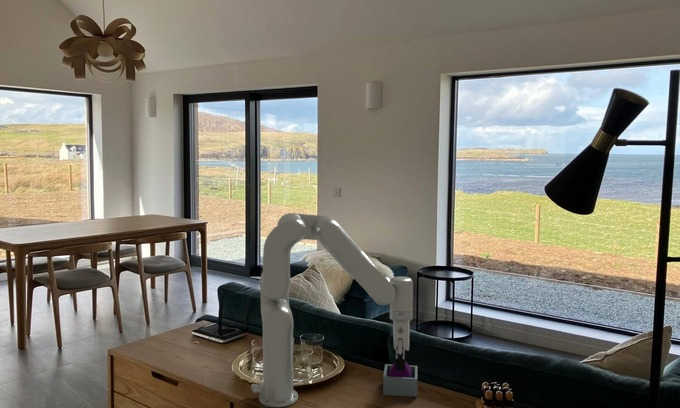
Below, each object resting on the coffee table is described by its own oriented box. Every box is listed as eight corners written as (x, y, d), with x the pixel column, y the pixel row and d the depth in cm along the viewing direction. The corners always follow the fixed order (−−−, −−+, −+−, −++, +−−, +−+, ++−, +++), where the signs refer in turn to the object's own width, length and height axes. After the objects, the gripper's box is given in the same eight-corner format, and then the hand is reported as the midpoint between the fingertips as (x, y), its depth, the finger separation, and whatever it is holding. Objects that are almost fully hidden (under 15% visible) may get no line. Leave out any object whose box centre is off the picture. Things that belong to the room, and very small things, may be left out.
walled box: (383, 394, 185) (383, 377, 185) (385, 380, 196) (385, 364, 196) (417, 396, 184) (417, 379, 183) (417, 382, 195) (417, 365, 194)
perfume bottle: (410, 387, 185) (411, 334, 183) (387, 385, 187) (388, 332, 185) (412, 378, 193) (413, 327, 191) (390, 376, 194) (391, 325, 192)
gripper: (412, 322, 178) (411, 377, 180) (412, 307, 195) (411, 358, 197) (388, 321, 179) (387, 376, 181) (391, 306, 196) (390, 356, 198)
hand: (400, 366), depth 189 cm, fingers closed on perfume bottle, 4 cm apart
